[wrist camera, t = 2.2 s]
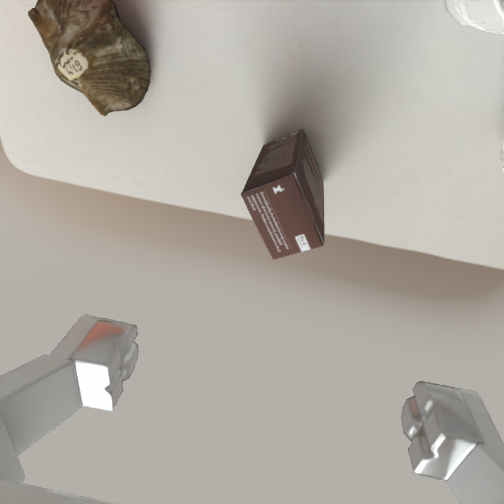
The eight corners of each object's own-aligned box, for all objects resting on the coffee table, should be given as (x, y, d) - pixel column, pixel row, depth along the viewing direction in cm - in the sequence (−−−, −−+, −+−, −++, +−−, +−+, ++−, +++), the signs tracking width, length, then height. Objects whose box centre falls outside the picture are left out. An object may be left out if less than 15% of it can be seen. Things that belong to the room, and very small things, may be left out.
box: (259, 146, 35) (237, 192, 24) (303, 127, 33) (300, 168, 23) (283, 200, 37) (272, 263, 27) (325, 185, 36) (330, 245, 25)
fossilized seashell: (13, -3, 29) (83, 118, 35) (2, -11, 24) (87, 133, 30) (101, -33, 30) (154, 89, 36) (109, -47, 25) (169, 98, 31)
